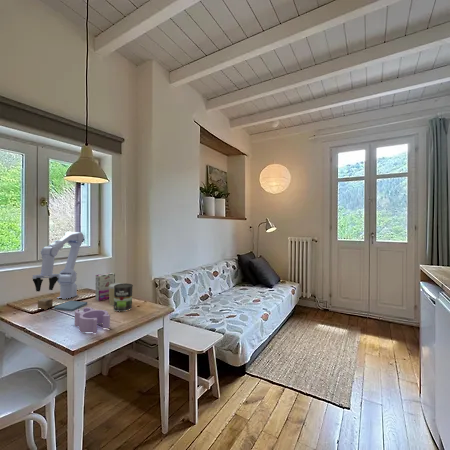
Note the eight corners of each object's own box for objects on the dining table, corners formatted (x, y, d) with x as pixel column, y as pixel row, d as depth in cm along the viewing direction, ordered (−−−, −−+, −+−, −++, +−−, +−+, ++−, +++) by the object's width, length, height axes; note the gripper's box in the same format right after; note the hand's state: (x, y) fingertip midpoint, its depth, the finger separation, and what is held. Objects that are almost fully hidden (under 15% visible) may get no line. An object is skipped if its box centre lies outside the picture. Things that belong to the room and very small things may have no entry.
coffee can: (130, 311, 147) (131, 287, 147) (111, 312, 145) (112, 288, 145) (133, 305, 157) (134, 283, 157) (115, 306, 155) (116, 283, 155)
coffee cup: (127, 303, 161) (127, 284, 161) (113, 307, 153) (114, 287, 153) (118, 300, 166) (119, 282, 166) (105, 304, 159) (105, 284, 158)
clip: (67, 325, 126) (67, 312, 126) (92, 318, 137) (92, 305, 137) (89, 337, 116) (89, 322, 115) (114, 327, 126) (114, 313, 126)
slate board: (70, 302, 159) (70, 300, 159) (87, 304, 157) (87, 302, 157) (54, 309, 147) (54, 307, 147) (72, 311, 145) (72, 309, 145)
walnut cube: (45, 306, 151) (45, 298, 151) (52, 307, 150) (52, 298, 150) (37, 309, 146) (37, 300, 146) (45, 310, 145) (45, 301, 145)
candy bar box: (111, 295, 175) (111, 272, 175) (115, 297, 172) (115, 273, 172) (94, 299, 166) (95, 274, 166) (98, 301, 163) (99, 276, 163)
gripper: (40, 267, 142) (36, 292, 140) (63, 267, 155) (61, 289, 153) (31, 267, 144) (27, 291, 142) (55, 266, 157) (52, 288, 156)
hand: (44, 290), depth 148 cm, fingers open, 7 cm apart
